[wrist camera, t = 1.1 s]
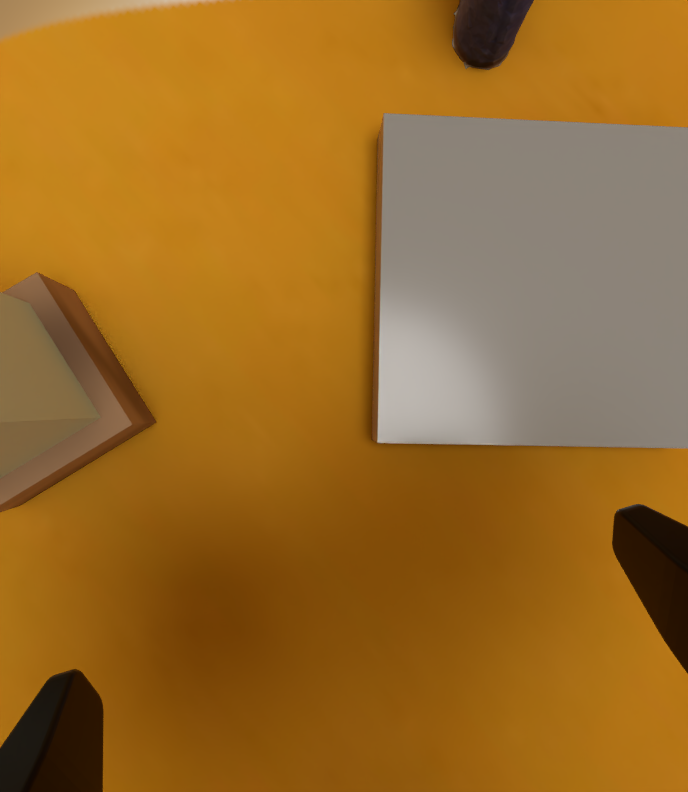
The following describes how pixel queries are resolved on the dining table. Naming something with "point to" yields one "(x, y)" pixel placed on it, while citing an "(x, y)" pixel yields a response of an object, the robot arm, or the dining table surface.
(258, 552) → the dining table surface
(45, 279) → the walnut box
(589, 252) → the tile
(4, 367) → the pale green square pillar
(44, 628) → the dining table surface
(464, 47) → the flask
